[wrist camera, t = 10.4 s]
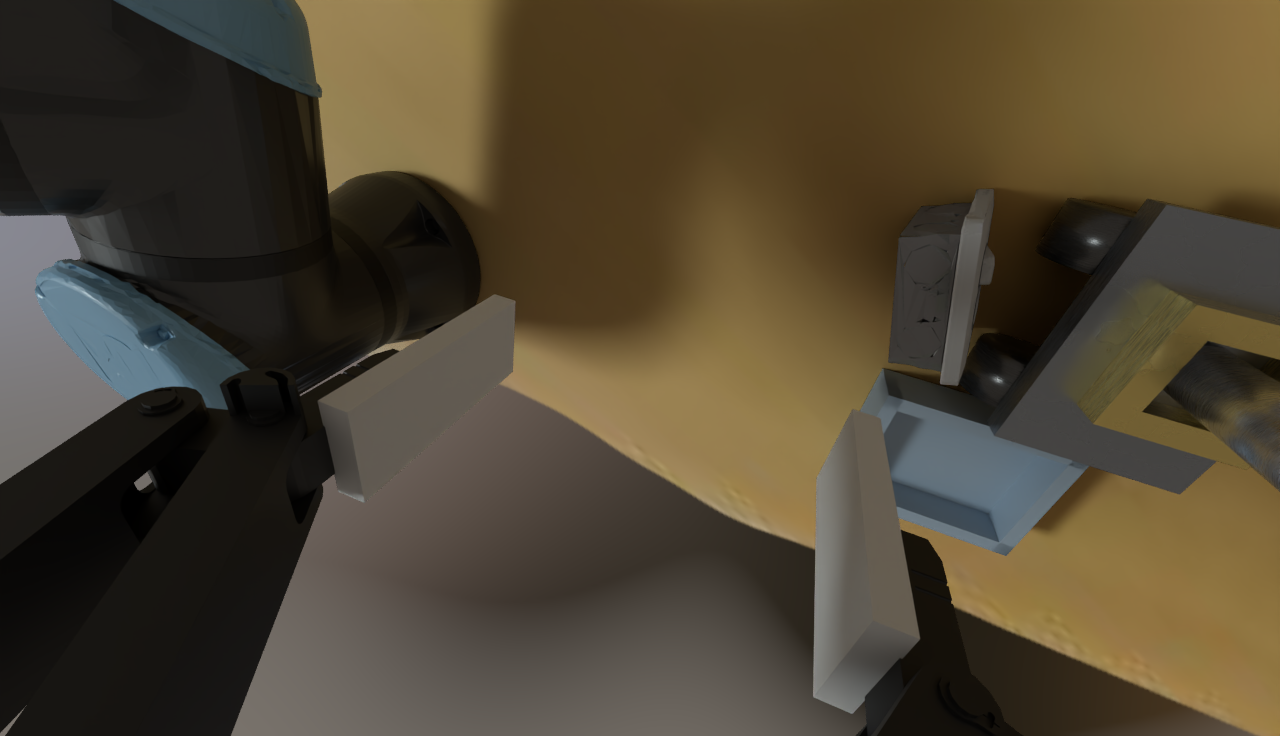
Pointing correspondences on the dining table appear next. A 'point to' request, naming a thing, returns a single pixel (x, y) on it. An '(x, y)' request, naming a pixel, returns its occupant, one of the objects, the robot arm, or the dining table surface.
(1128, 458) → the trolley
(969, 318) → the electrical switch
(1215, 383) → the pin
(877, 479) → the robot arm
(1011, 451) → the tray
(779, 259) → the dining table surface
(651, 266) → the dining table surface
